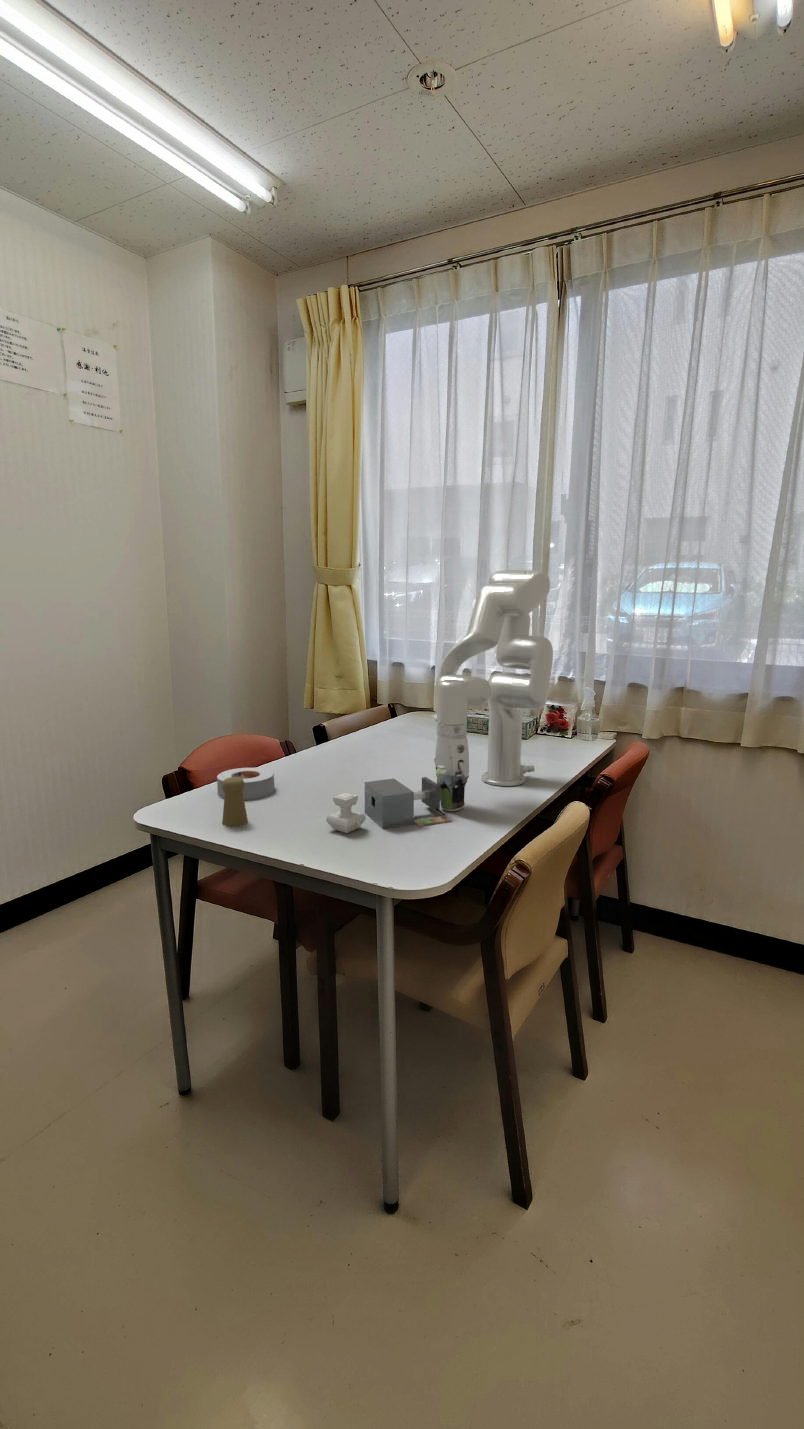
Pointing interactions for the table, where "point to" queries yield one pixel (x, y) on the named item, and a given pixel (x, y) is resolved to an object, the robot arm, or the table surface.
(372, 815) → the block
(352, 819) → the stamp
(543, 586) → the robot arm
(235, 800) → the cork
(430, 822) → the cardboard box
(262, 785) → the tape roll
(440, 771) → the beverage can
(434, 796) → the plunger
